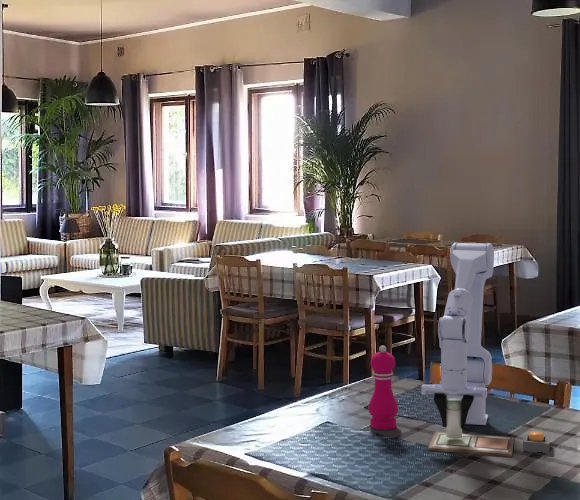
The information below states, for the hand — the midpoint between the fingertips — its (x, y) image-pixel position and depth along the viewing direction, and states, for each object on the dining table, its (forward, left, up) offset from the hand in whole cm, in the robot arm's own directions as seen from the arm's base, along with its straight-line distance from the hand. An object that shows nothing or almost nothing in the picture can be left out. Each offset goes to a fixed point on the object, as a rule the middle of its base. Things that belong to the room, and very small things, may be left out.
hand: (454, 426), depth 195 cm
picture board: (+4, 0, -4) cm, 6 cm away
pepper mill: (-18, +9, -4) cm, 21 cm away
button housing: (+18, +1, -4) cm, 18 cm away
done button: (+18, +1, -2) cm, 18 cm away
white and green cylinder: (0, 0, -2) cm, 2 cm away
